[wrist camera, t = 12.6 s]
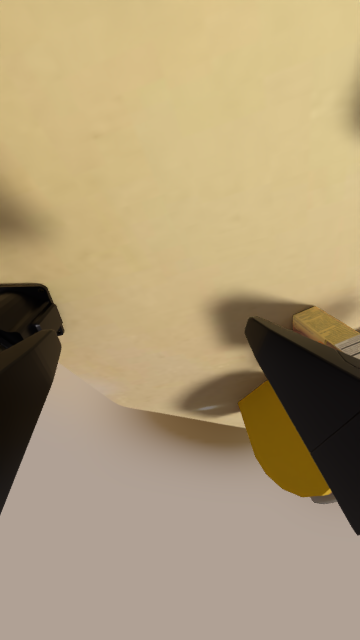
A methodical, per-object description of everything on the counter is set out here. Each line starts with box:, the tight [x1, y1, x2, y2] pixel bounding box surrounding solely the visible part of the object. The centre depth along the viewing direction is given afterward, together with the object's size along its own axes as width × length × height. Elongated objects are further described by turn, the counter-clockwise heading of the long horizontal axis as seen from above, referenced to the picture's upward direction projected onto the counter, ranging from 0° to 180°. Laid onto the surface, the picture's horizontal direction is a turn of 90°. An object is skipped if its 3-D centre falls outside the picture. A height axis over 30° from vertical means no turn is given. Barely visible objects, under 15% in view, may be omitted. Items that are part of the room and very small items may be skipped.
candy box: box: [293, 306, 360, 359], centre depth 24 cm, size 9×4×15 cm, turn 23°
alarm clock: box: [238, 380, 337, 504], centre depth 34 cm, size 15×8×18 cm, turn 143°
